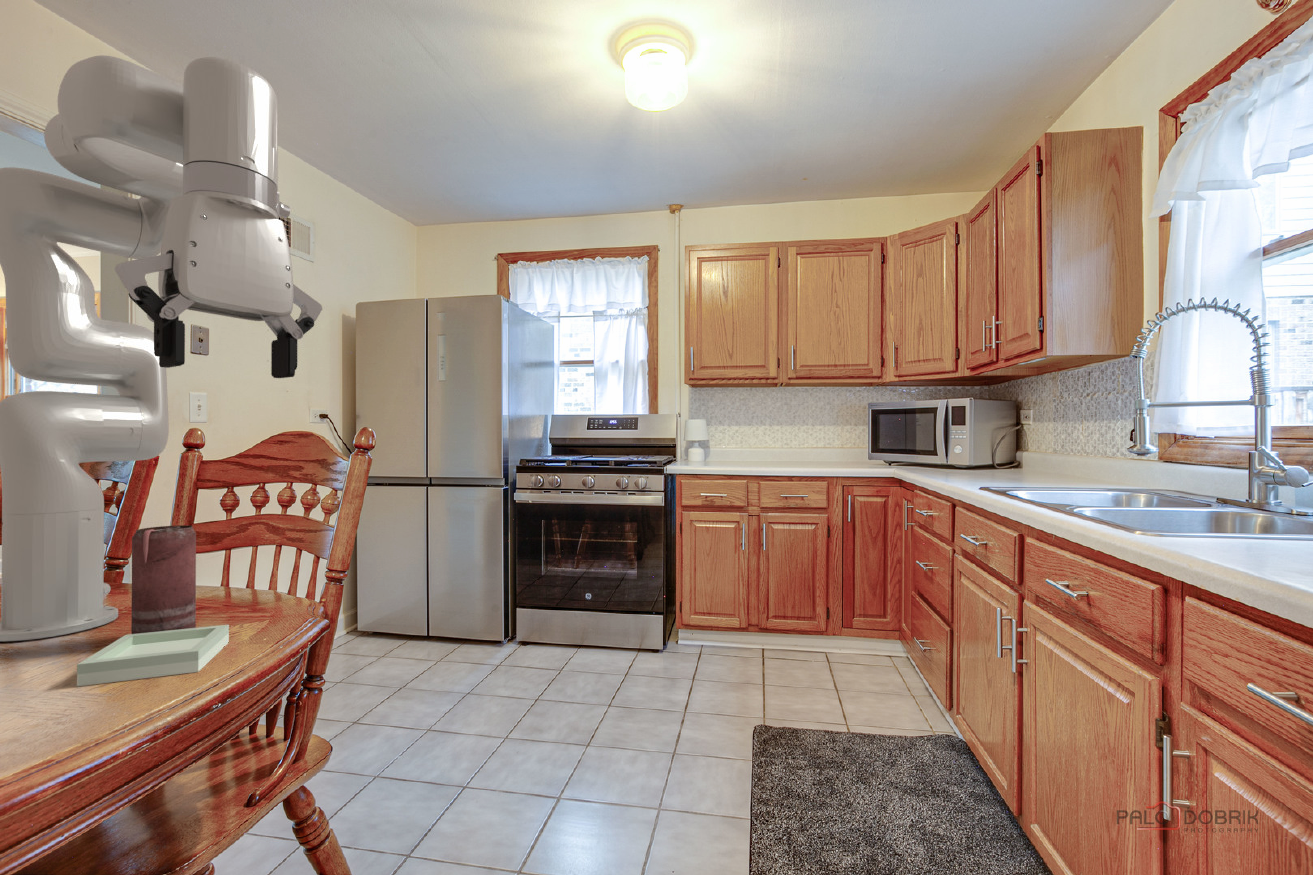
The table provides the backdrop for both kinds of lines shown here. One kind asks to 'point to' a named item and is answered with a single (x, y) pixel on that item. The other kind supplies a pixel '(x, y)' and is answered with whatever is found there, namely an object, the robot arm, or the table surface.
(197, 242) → the robot arm
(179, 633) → the plate
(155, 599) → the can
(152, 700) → the table surface
